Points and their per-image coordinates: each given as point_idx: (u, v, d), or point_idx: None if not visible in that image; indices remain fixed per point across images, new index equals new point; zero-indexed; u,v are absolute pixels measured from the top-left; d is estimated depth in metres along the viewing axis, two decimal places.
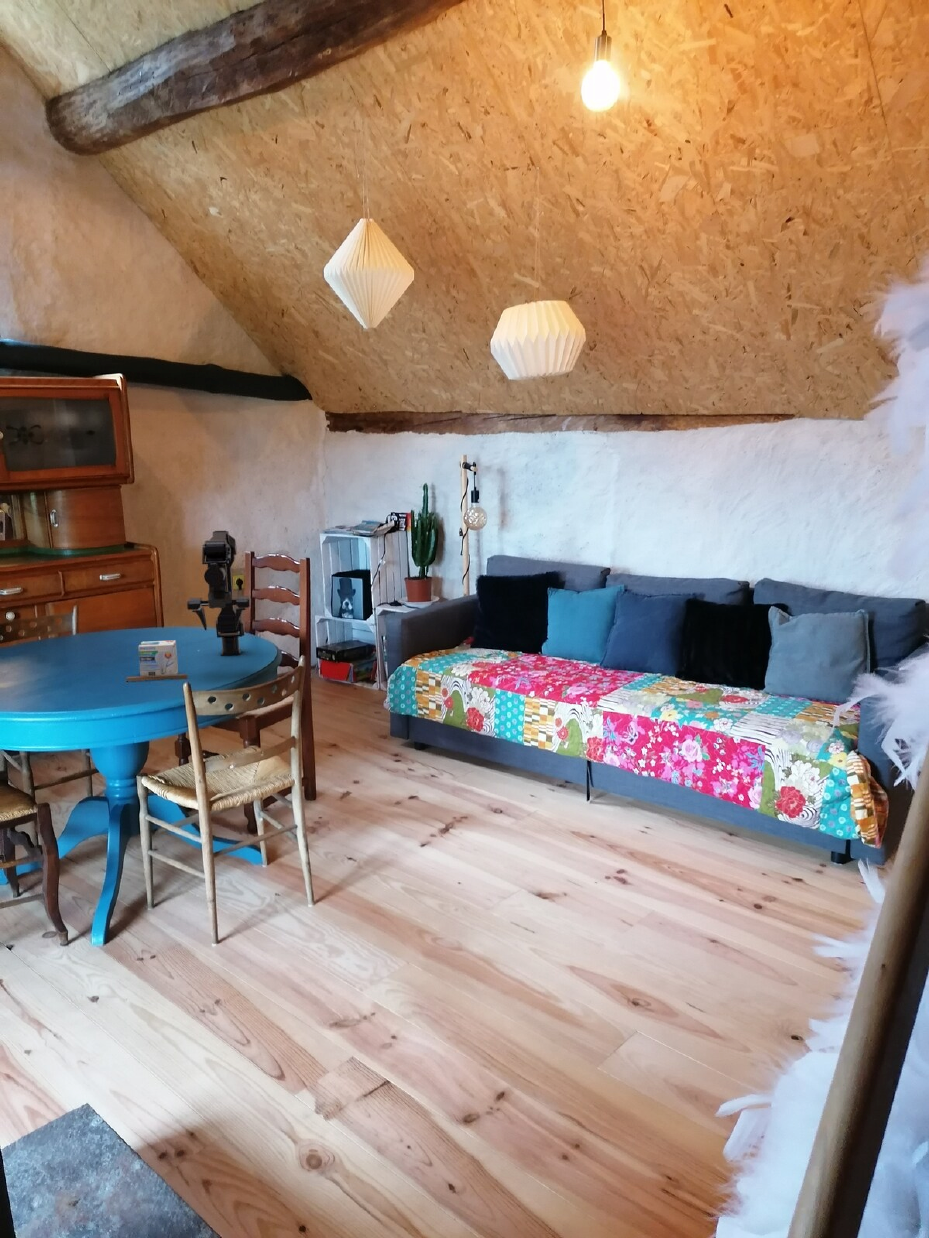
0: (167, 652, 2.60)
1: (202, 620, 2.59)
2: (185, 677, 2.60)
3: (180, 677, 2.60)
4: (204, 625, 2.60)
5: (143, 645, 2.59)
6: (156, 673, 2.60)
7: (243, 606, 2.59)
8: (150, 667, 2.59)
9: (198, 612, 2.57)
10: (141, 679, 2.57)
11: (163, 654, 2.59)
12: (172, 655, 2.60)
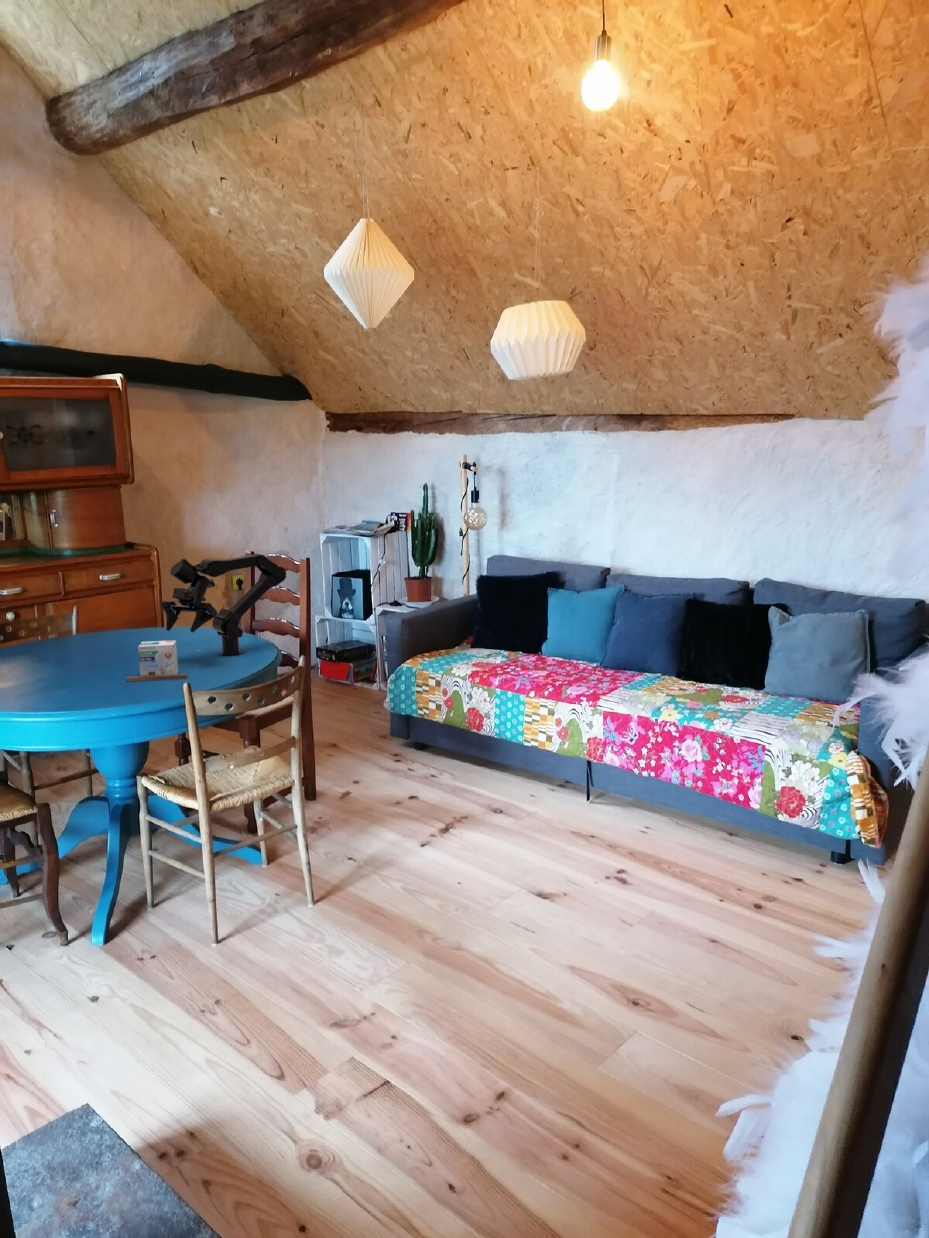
0: (167, 652, 2.60)
1: (167, 619, 2.73)
2: (185, 677, 2.60)
3: (180, 677, 2.60)
4: (167, 624, 2.72)
5: (143, 645, 2.59)
6: (156, 673, 2.60)
7: (202, 607, 2.70)
8: (150, 667, 2.59)
9: (166, 610, 2.74)
10: (141, 679, 2.57)
11: (163, 654, 2.59)
12: (172, 655, 2.60)
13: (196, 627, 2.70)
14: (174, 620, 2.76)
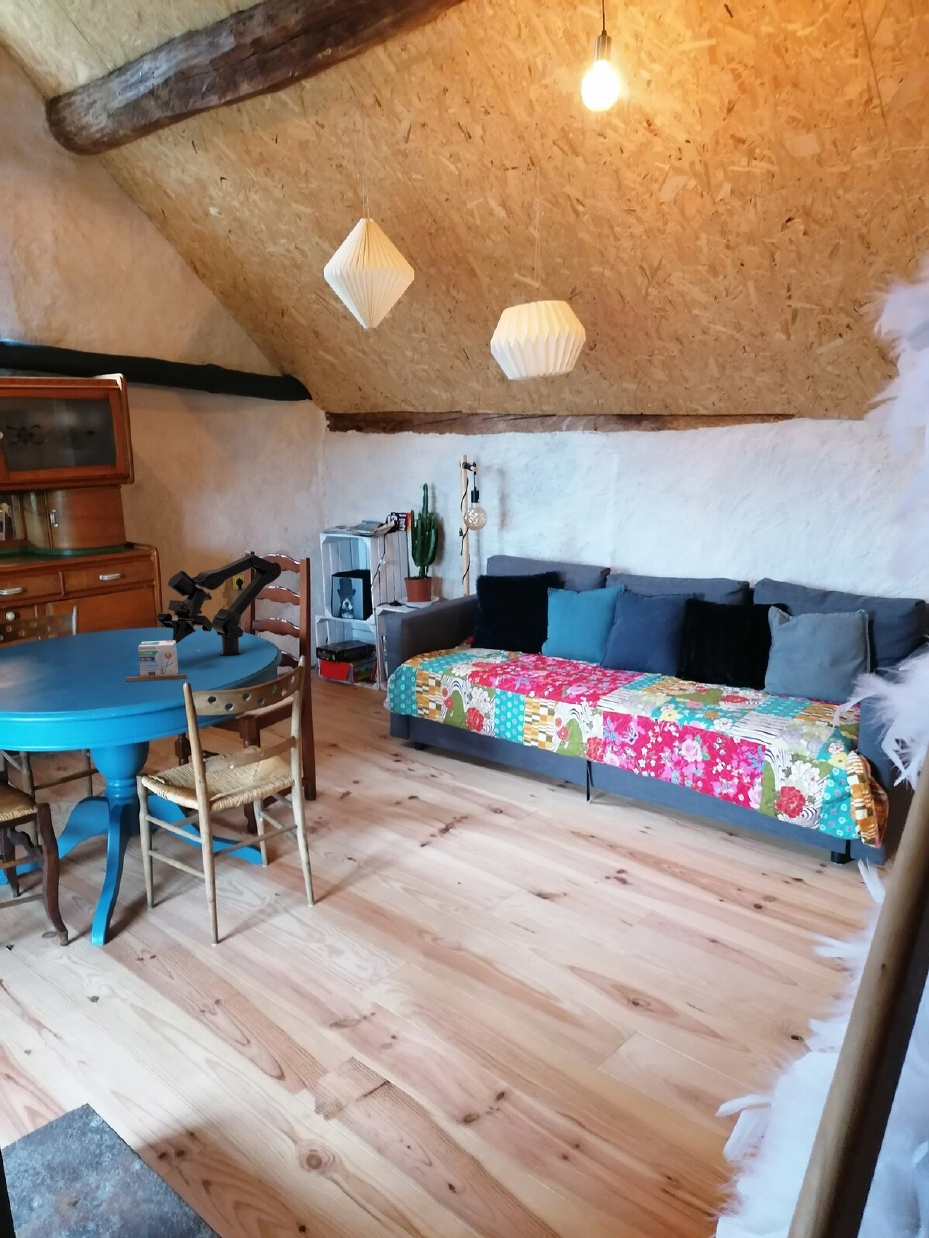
0: (167, 652, 2.60)
1: (174, 632, 2.71)
2: (185, 677, 2.60)
3: (180, 677, 2.60)
4: (173, 637, 2.70)
5: (143, 645, 2.59)
6: (156, 673, 2.60)
7: (198, 619, 2.68)
8: (150, 667, 2.59)
9: (173, 622, 2.71)
10: (141, 679, 2.57)
11: (163, 654, 2.59)
12: (172, 655, 2.60)
13: (179, 639, 2.71)
14: None
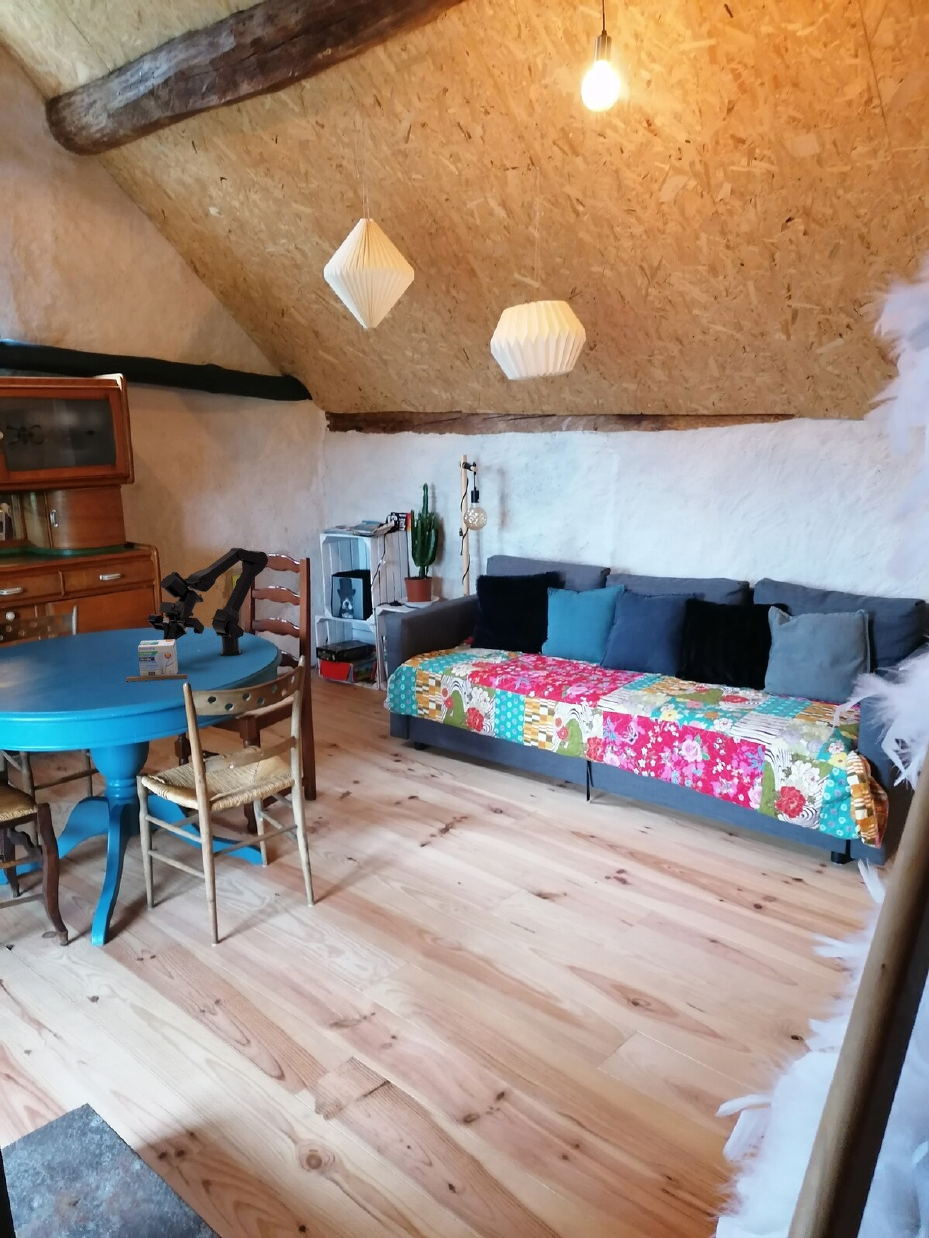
0: (167, 652, 2.59)
1: (165, 634, 2.66)
2: (185, 677, 2.60)
3: (180, 677, 2.60)
4: (164, 639, 2.66)
5: (143, 645, 2.58)
6: (156, 673, 2.60)
7: (189, 622, 2.64)
8: (150, 667, 2.59)
9: (164, 624, 2.67)
10: (141, 679, 2.57)
11: (163, 654, 2.59)
12: (172, 655, 2.60)
13: None
14: None
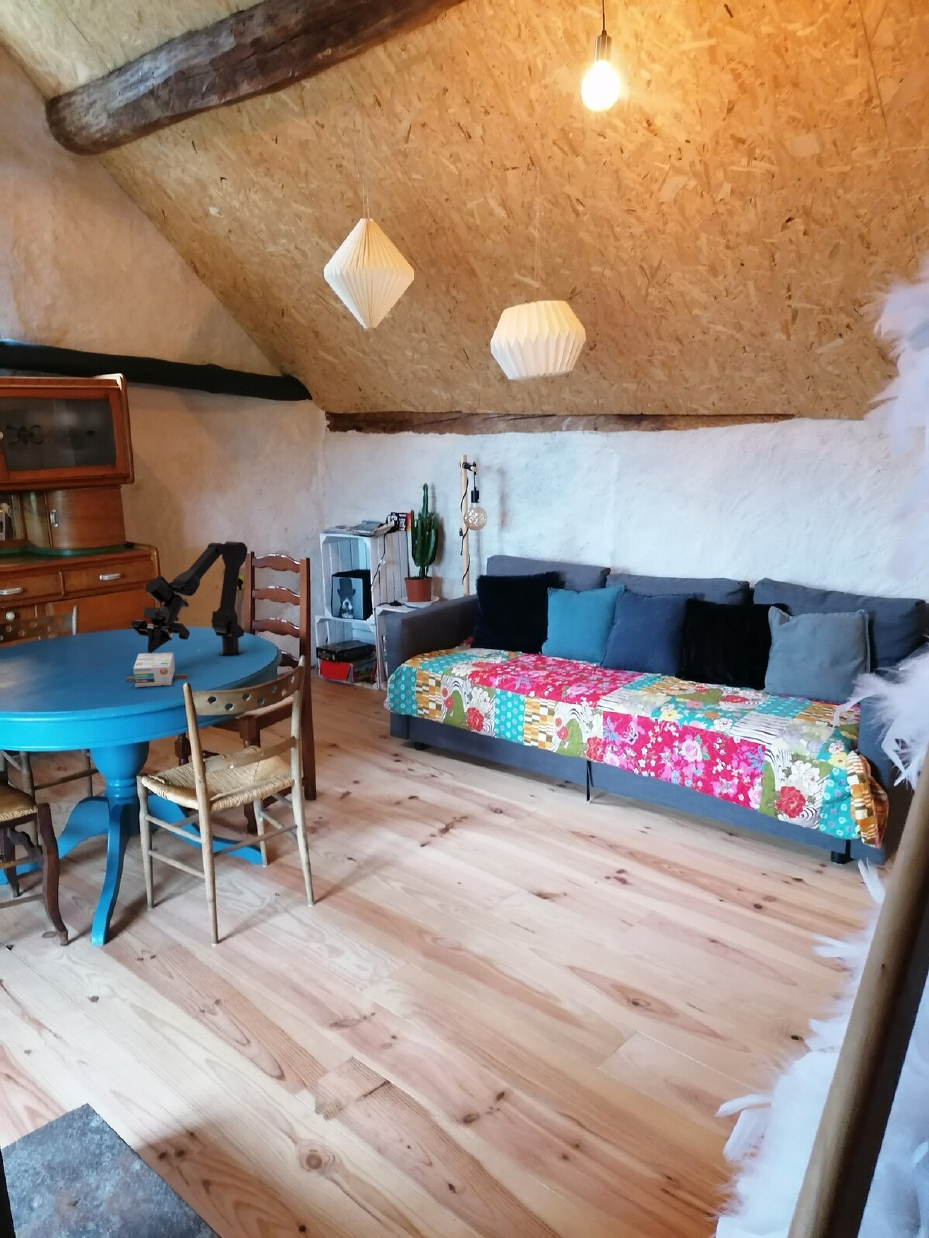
0: None
1: (149, 640, 2.59)
2: (185, 677, 2.60)
3: (180, 677, 2.60)
4: (149, 645, 2.59)
5: (139, 683, 2.50)
6: None
7: (174, 627, 2.57)
8: None
9: (148, 630, 2.60)
10: None
11: None
12: None
13: (155, 647, 2.59)
14: None
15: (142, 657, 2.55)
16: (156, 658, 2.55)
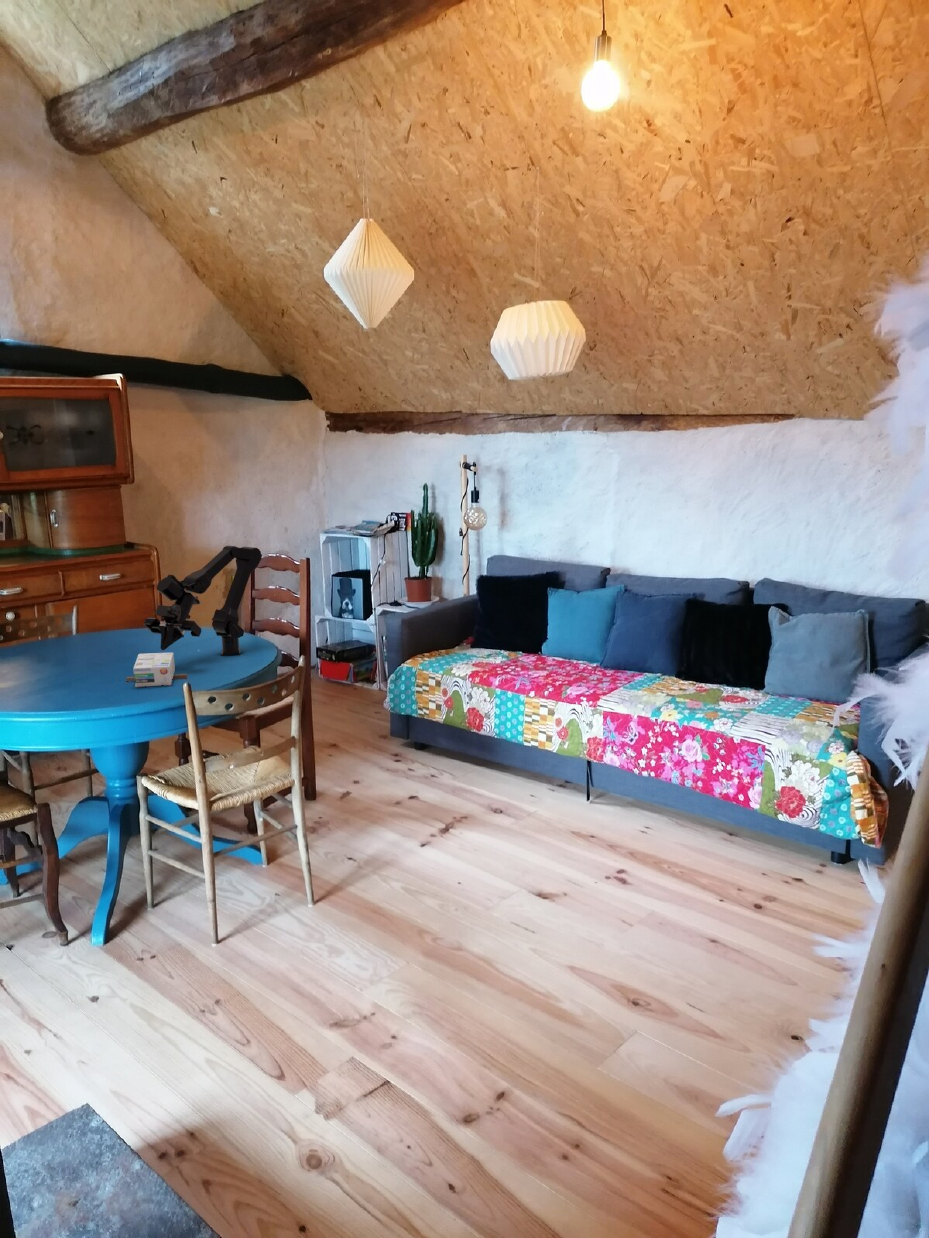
0: None
1: (162, 638, 2.65)
2: (185, 677, 2.60)
3: (180, 677, 2.60)
4: (161, 643, 2.64)
5: (139, 683, 2.50)
6: None
7: (186, 625, 2.63)
8: None
9: (161, 628, 2.65)
10: None
11: None
12: None
13: (168, 645, 2.65)
14: None
15: (142, 657, 2.55)
16: (156, 658, 2.55)
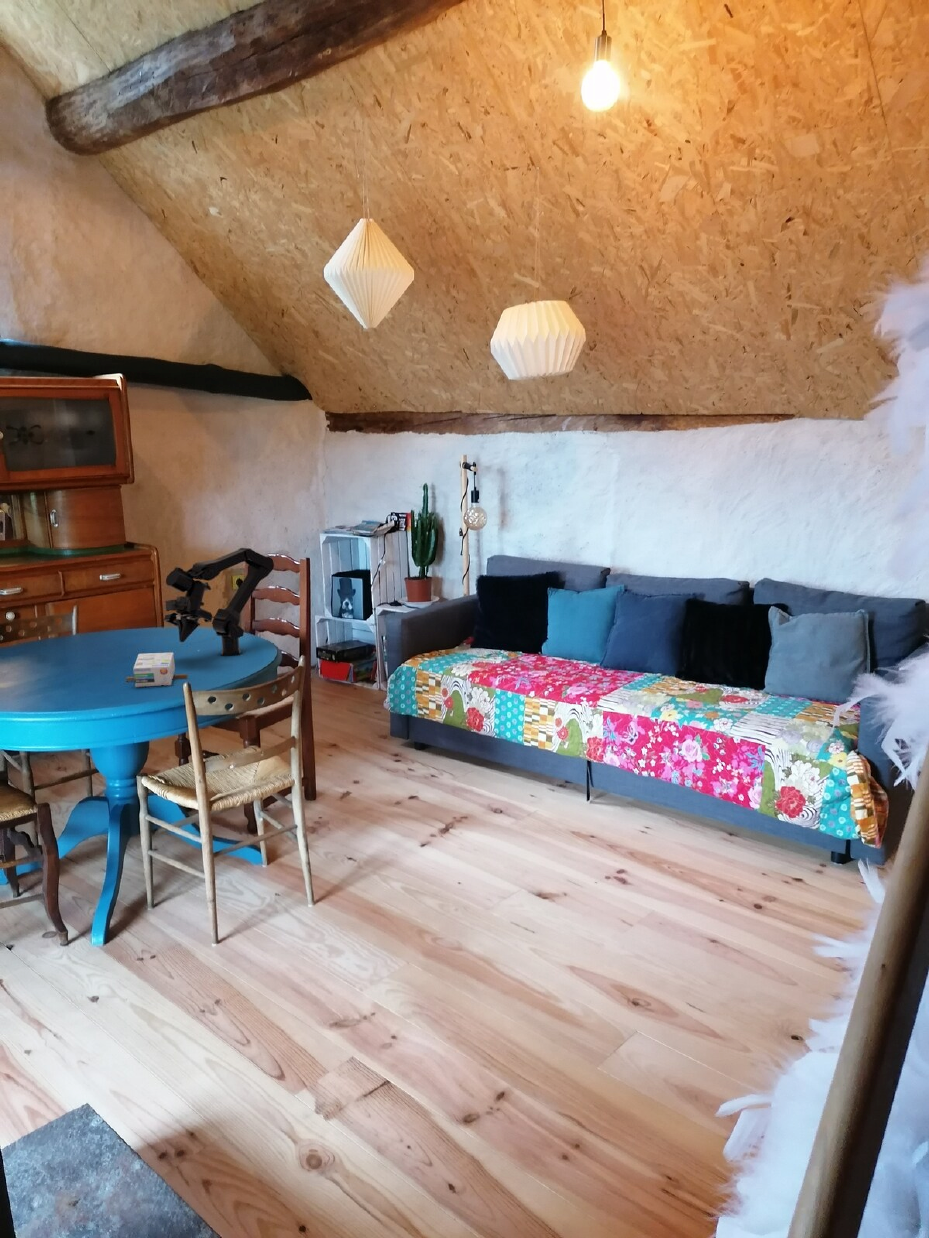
0: None
1: (179, 630, 2.71)
2: (185, 677, 2.60)
3: (180, 677, 2.60)
4: (179, 636, 2.71)
5: (139, 683, 2.50)
6: None
7: (193, 614, 2.66)
8: None
9: (176, 621, 2.72)
10: None
11: None
12: None
13: (186, 636, 2.71)
14: None
15: (142, 657, 2.55)
16: (156, 658, 2.55)
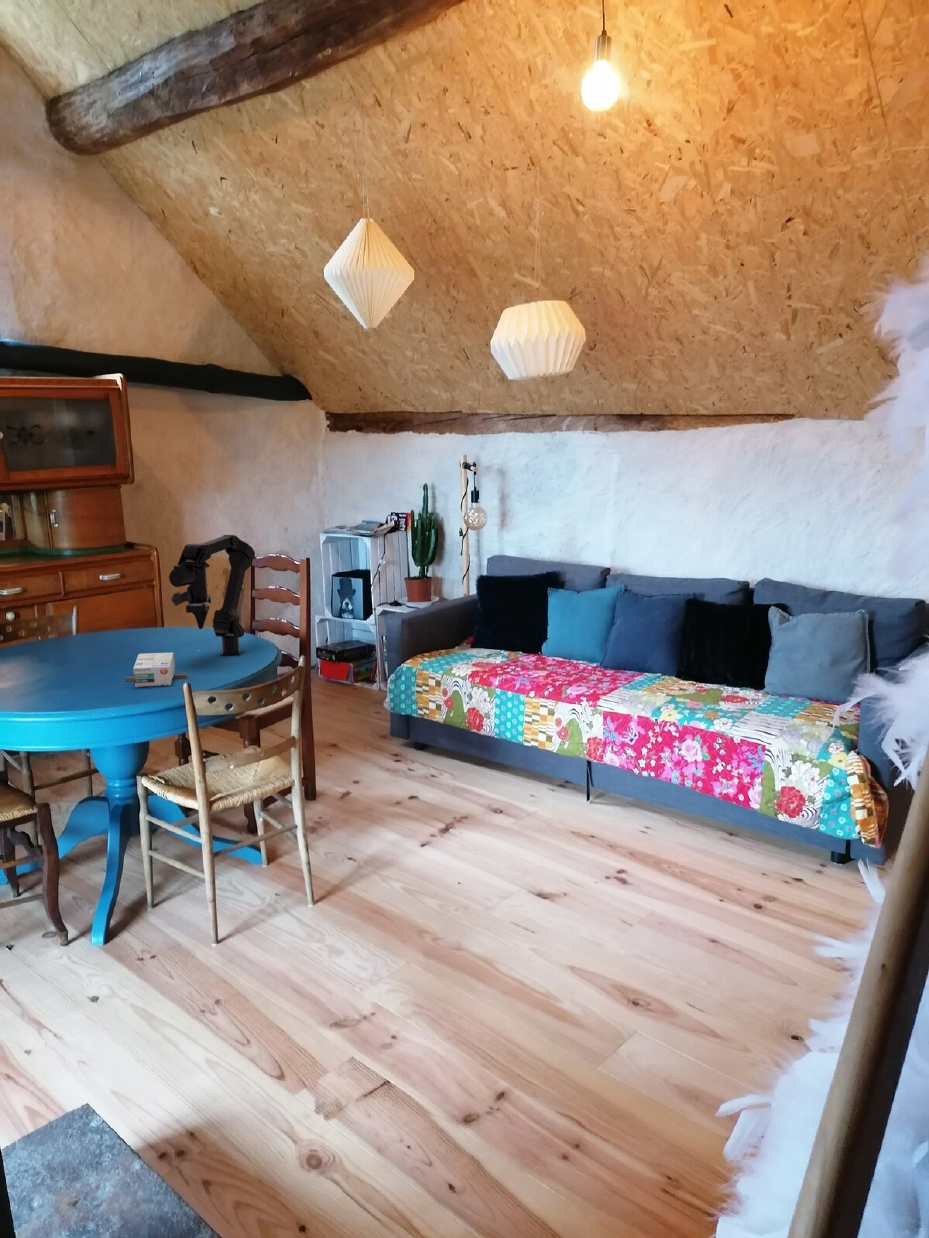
0: None
1: None
2: (185, 677, 2.60)
3: (180, 677, 2.60)
4: (198, 623, 2.75)
5: (139, 683, 2.50)
6: None
7: None
8: None
9: None
10: None
11: None
12: None
13: (201, 623, 2.74)
14: None
15: (142, 657, 2.55)
16: (156, 658, 2.55)
